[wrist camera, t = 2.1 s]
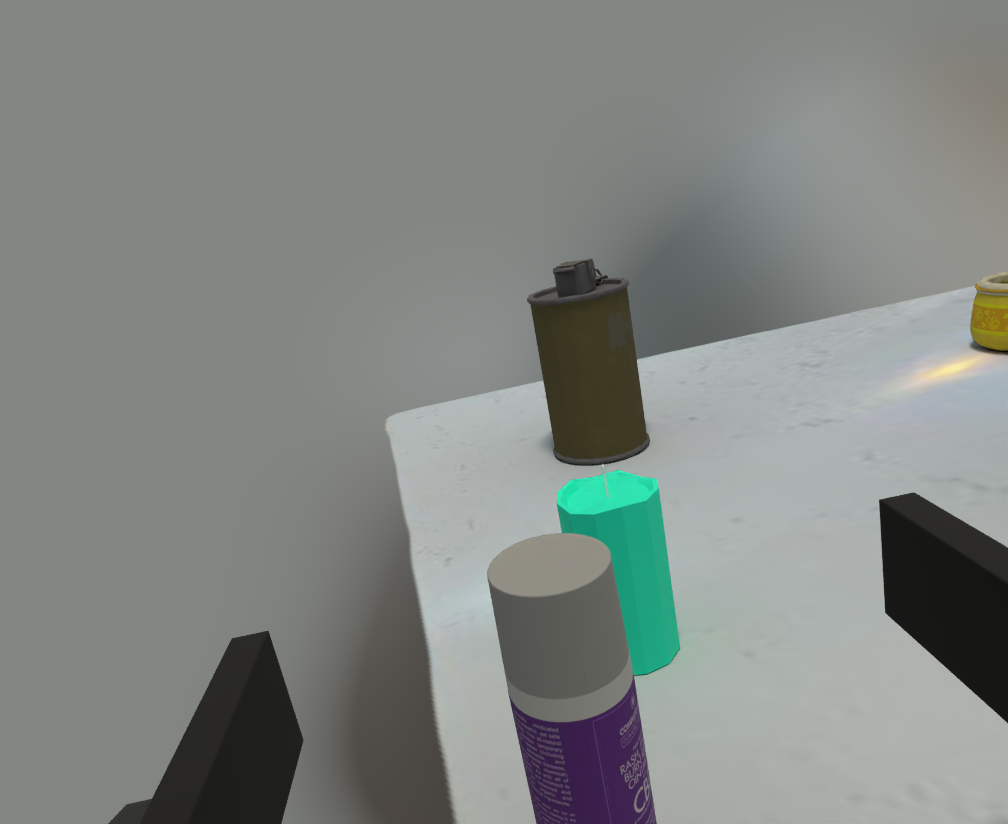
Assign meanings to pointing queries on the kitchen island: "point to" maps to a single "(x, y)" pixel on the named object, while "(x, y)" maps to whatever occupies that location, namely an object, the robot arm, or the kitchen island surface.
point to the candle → (629, 556)
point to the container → (571, 681)
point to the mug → (991, 312)
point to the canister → (589, 365)
